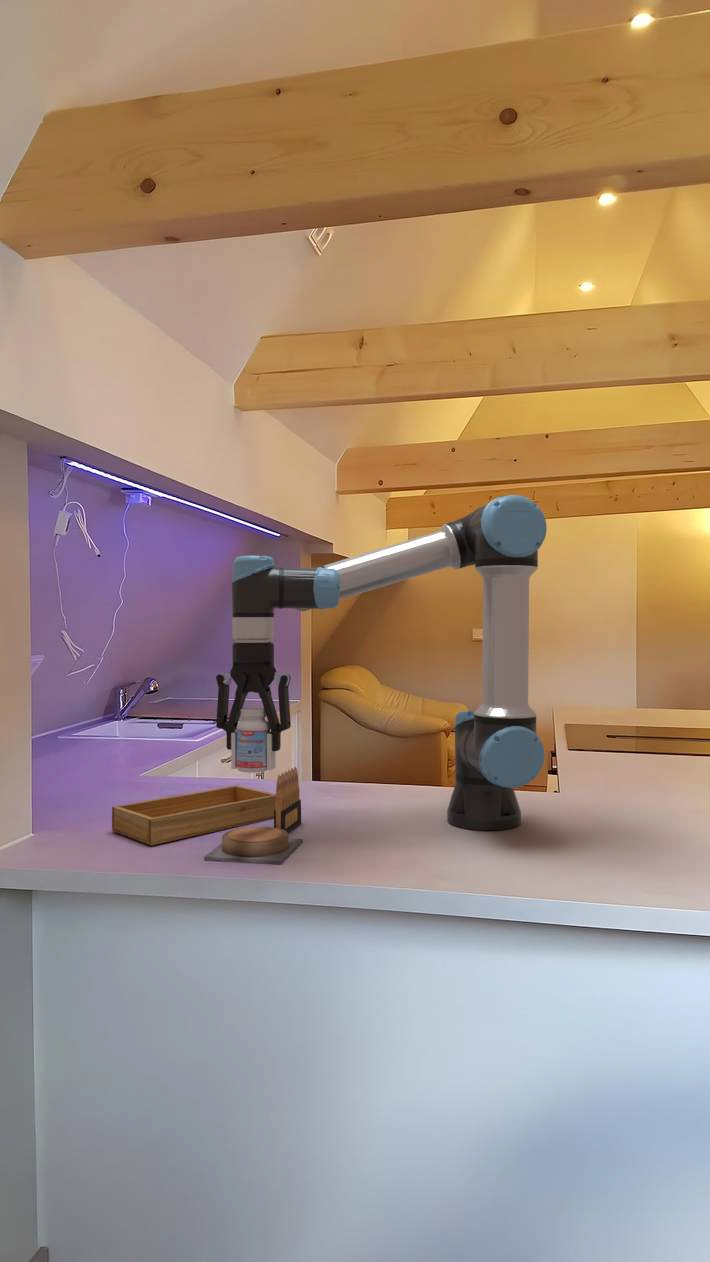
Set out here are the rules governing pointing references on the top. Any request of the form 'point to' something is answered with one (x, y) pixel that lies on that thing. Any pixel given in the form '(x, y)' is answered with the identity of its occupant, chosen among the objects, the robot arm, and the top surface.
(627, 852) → the top surface
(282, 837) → the plinth
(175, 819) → the tray
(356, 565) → the robot arm
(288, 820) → the colored pencil set
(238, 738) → the pill bottle
